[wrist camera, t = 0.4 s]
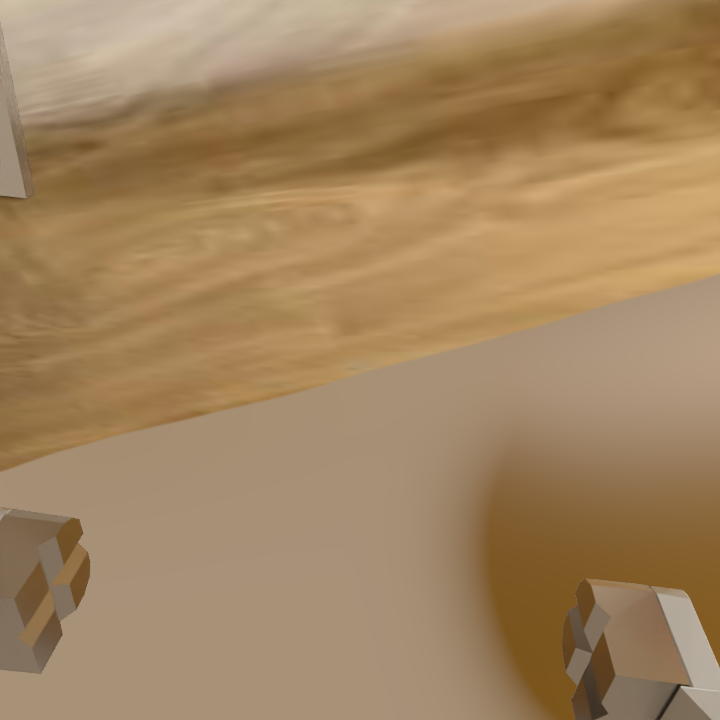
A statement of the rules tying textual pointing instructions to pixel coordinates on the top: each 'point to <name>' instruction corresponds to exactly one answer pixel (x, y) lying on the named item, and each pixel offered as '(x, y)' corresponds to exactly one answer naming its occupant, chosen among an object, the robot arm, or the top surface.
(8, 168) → the bolt plate
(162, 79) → the top surface
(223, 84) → the top surface
